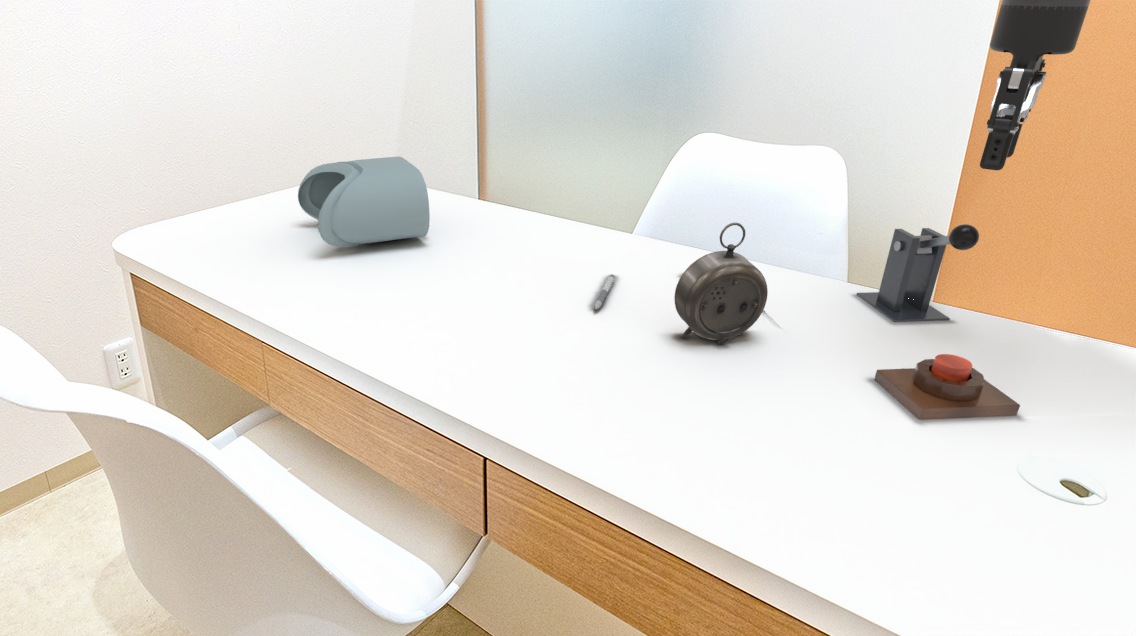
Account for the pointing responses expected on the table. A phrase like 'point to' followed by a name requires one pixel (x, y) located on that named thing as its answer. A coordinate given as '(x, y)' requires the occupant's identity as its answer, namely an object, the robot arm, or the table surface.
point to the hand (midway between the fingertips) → (996, 162)
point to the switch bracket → (908, 280)
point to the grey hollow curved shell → (366, 201)
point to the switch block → (945, 394)
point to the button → (951, 367)
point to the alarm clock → (721, 294)
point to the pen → (604, 291)
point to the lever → (950, 239)
